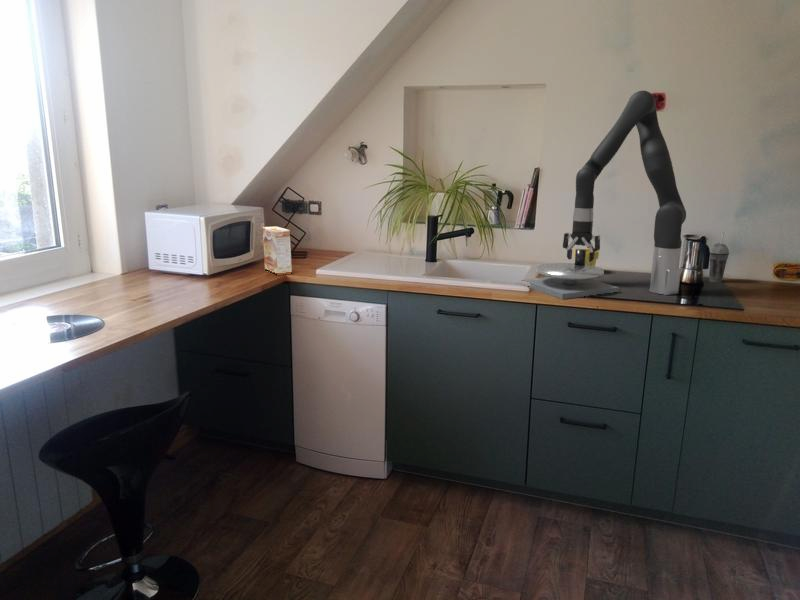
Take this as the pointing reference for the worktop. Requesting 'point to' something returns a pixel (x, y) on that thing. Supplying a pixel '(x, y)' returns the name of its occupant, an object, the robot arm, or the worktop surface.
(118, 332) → the worktop surface
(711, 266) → the beverage cup
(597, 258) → the plant pot
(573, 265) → the handwheel
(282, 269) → the coffeecake box
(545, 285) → the wheel base
